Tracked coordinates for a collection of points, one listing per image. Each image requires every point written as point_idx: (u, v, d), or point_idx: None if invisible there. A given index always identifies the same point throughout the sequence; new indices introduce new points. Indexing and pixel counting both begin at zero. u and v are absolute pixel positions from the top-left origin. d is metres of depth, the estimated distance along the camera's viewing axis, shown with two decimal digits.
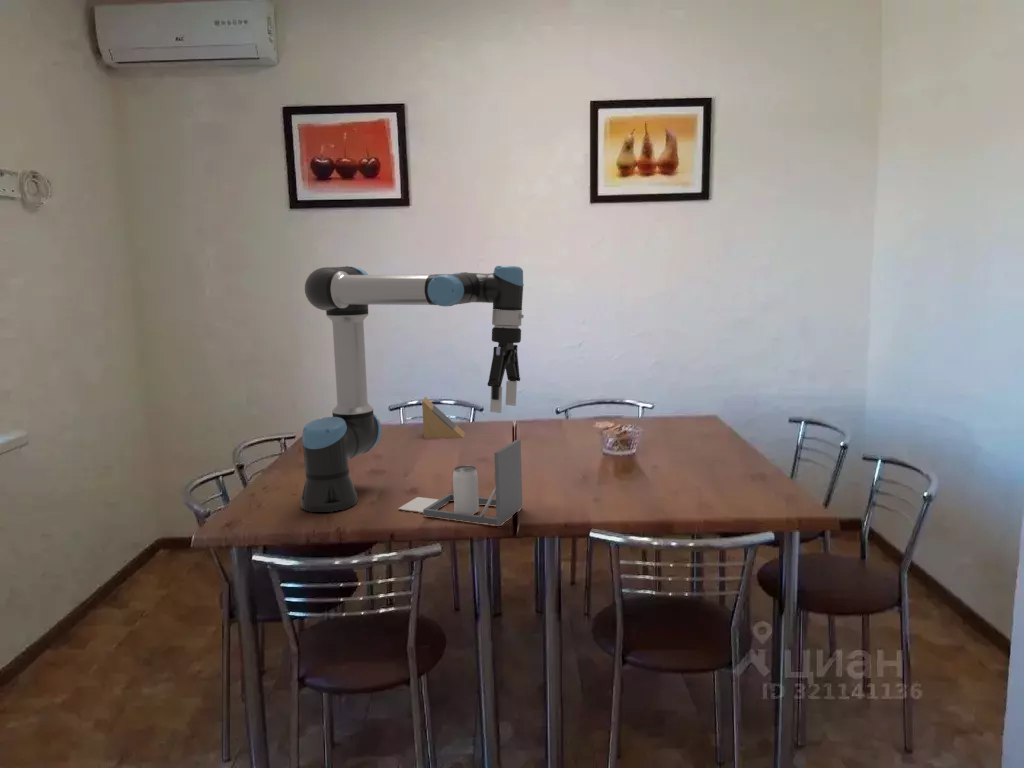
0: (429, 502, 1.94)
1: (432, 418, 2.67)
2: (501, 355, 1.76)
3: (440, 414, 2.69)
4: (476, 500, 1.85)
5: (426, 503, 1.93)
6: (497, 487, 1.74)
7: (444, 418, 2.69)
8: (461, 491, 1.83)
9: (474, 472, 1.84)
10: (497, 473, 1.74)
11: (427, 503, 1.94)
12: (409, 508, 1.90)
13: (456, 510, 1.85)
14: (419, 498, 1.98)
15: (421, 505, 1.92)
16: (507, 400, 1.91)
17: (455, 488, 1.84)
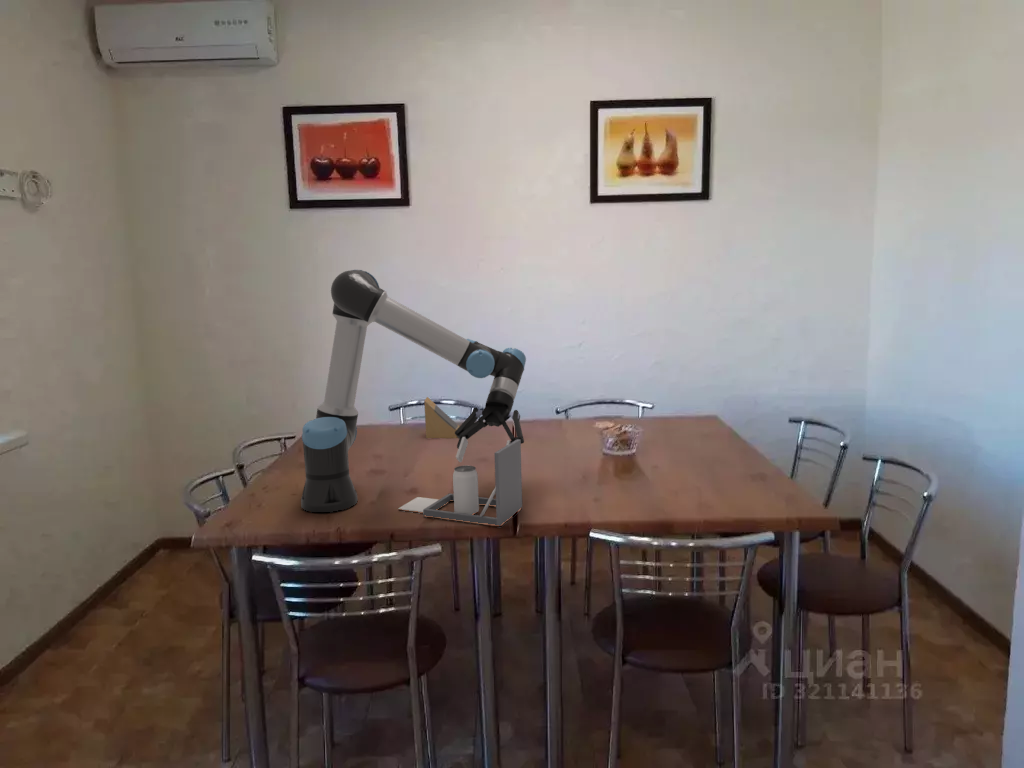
0: (429, 502, 1.94)
1: (434, 418, 2.67)
2: (519, 420, 1.97)
3: (442, 414, 2.69)
4: (476, 500, 1.85)
5: (426, 503, 1.93)
6: (497, 487, 1.74)
7: (446, 418, 2.69)
8: (461, 491, 1.83)
9: (474, 472, 1.84)
10: (497, 473, 1.74)
11: (427, 503, 1.94)
12: (409, 508, 1.90)
13: (456, 510, 1.85)
14: (419, 498, 1.98)
15: (421, 505, 1.92)
16: (460, 454, 1.95)
17: (455, 488, 1.84)
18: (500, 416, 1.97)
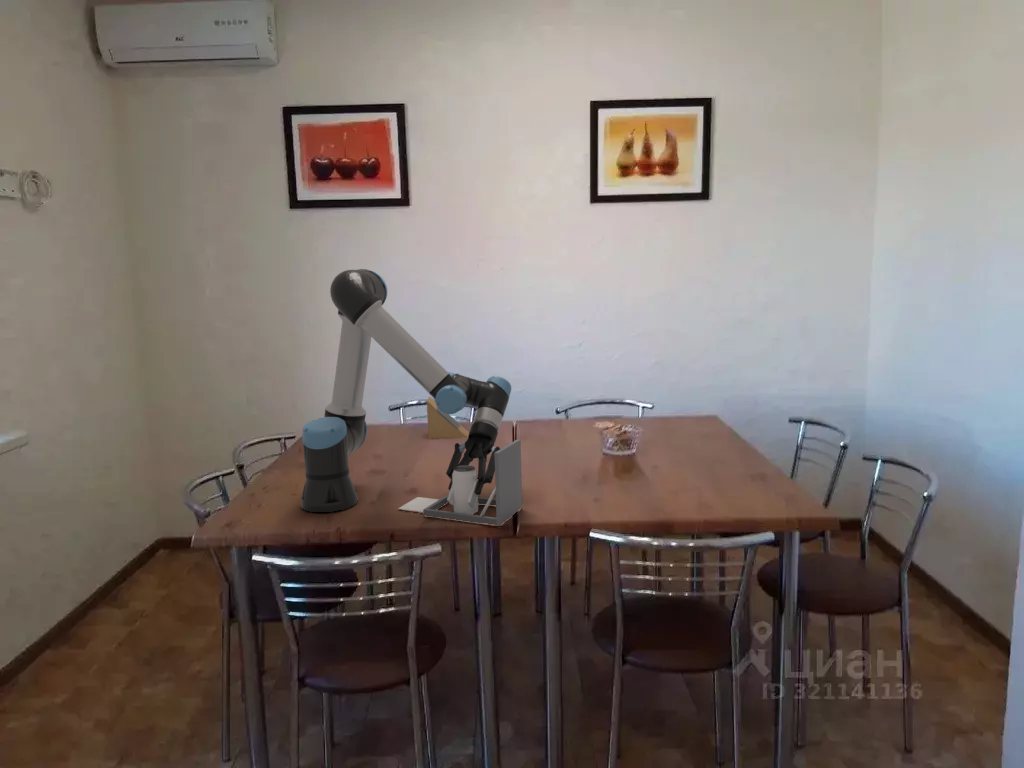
0: (429, 502, 1.94)
1: (437, 418, 2.67)
2: None
3: (444, 414, 2.69)
4: None
5: (426, 503, 1.93)
6: (497, 487, 1.74)
7: (448, 418, 2.69)
8: (461, 491, 1.83)
9: (473, 472, 1.84)
10: (497, 473, 1.74)
11: (427, 503, 1.94)
12: (409, 508, 1.90)
13: (455, 510, 1.85)
14: (419, 498, 1.98)
15: (421, 505, 1.92)
16: (451, 496, 1.85)
17: (454, 488, 1.84)
18: (480, 450, 1.89)
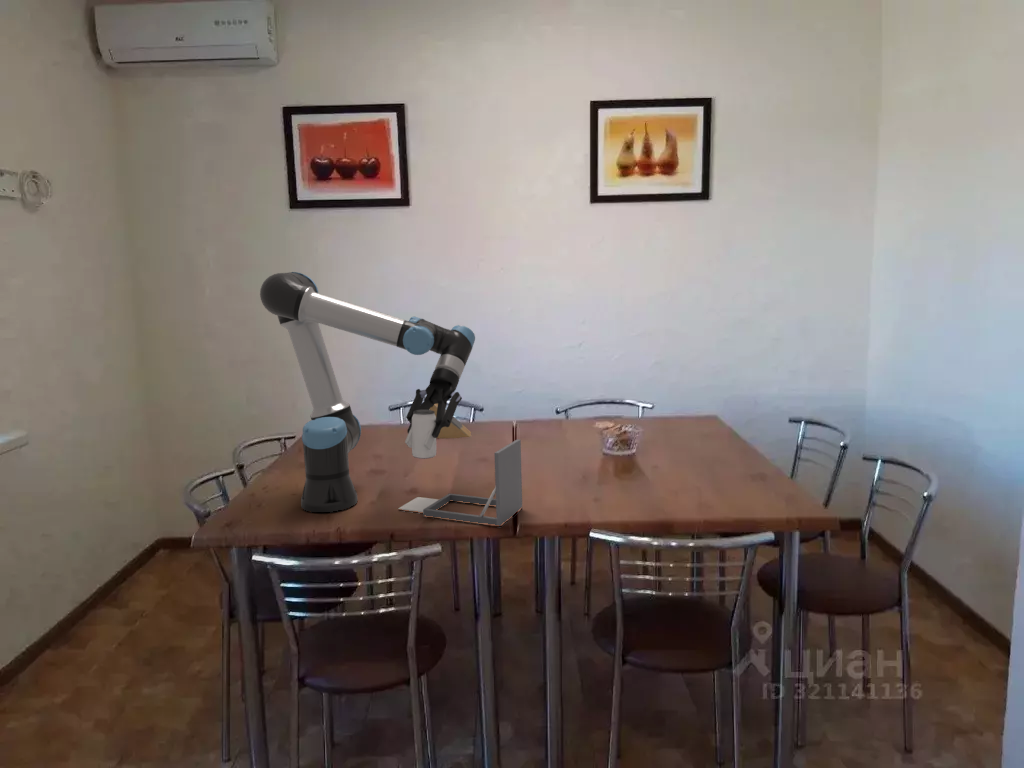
0: (429, 502, 1.94)
1: None
2: (457, 403, 1.92)
3: None
4: (434, 443, 1.88)
5: (426, 503, 1.93)
6: (497, 487, 1.74)
7: None
8: (419, 433, 1.86)
9: (433, 416, 1.87)
10: (497, 473, 1.74)
11: (427, 503, 1.94)
12: (409, 508, 1.90)
13: (413, 453, 1.88)
14: (419, 498, 1.98)
15: (421, 505, 1.92)
16: (409, 439, 1.87)
17: (413, 431, 1.87)
18: (440, 395, 1.92)
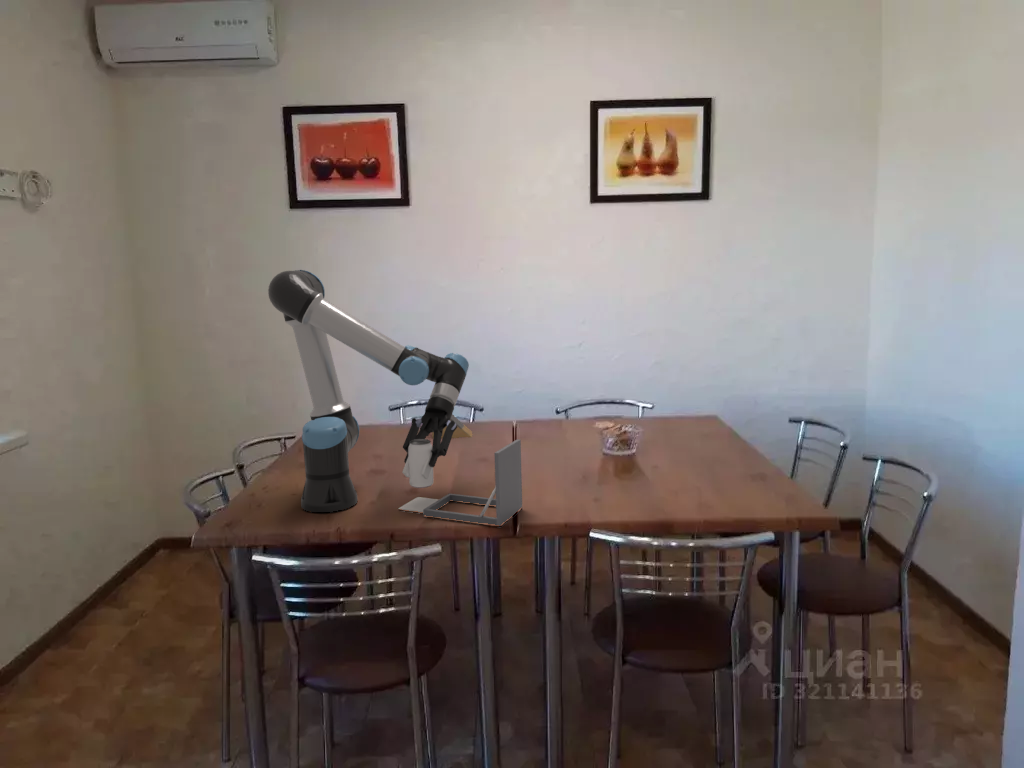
0: (429, 502, 1.94)
1: None
2: (453, 431, 1.94)
3: None
4: (431, 472, 1.90)
5: (426, 503, 1.93)
6: (497, 487, 1.74)
7: (452, 418, 2.69)
8: (416, 463, 1.88)
9: (429, 445, 1.89)
10: (497, 473, 1.74)
11: (427, 503, 1.94)
12: (409, 508, 1.90)
13: (411, 482, 1.90)
14: (419, 498, 1.98)
15: (421, 505, 1.92)
16: (407, 469, 1.89)
17: (410, 460, 1.89)
18: (436, 424, 1.94)
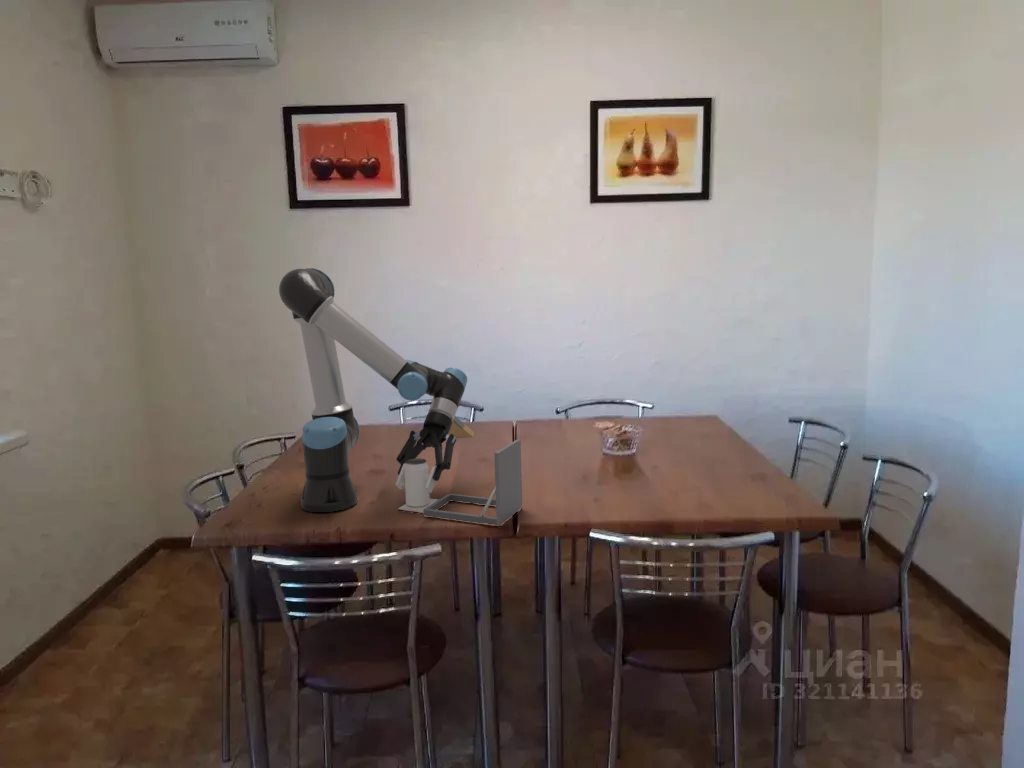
0: (429, 502, 1.94)
1: None
2: (453, 444, 1.95)
3: None
4: (427, 492, 1.91)
5: None
6: (497, 487, 1.74)
7: None
8: (412, 483, 1.89)
9: (425, 464, 1.90)
10: (497, 473, 1.74)
11: None
12: (409, 508, 1.90)
13: (407, 502, 1.91)
14: None
15: None
16: (400, 481, 1.91)
17: (406, 480, 1.90)
18: (435, 438, 1.95)
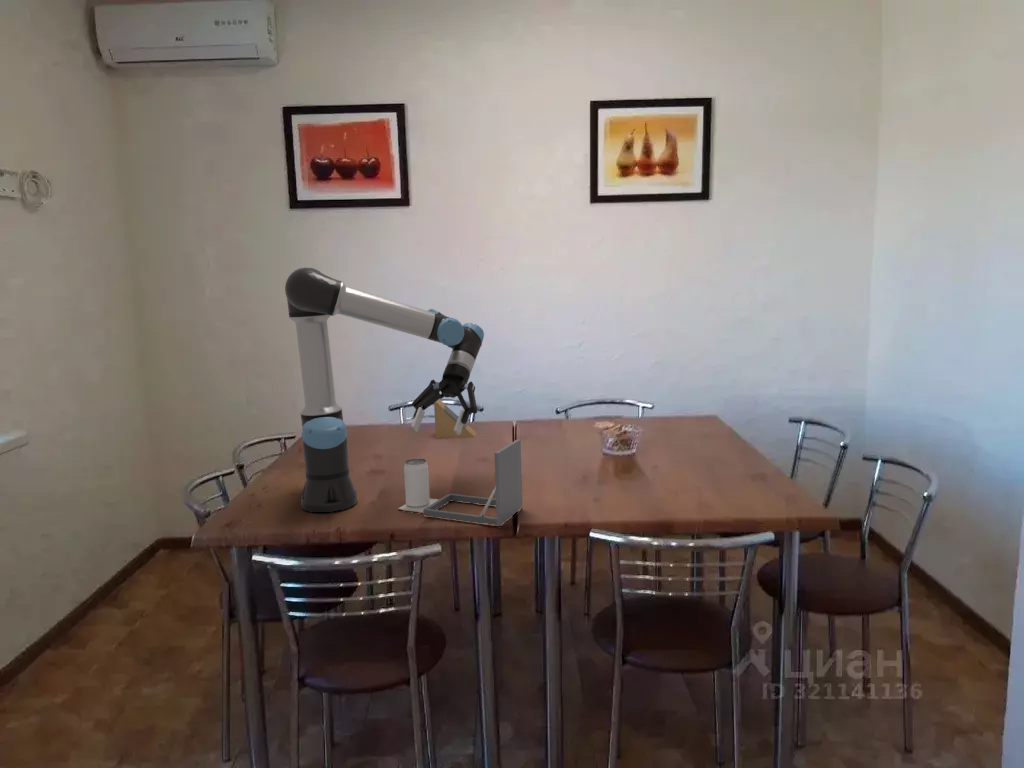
0: (429, 502, 1.94)
1: (444, 418, 2.67)
2: (473, 391, 2.04)
3: (451, 413, 2.69)
4: (427, 492, 1.91)
5: None
6: (497, 487, 1.74)
7: (456, 417, 2.69)
8: (412, 483, 1.89)
9: (424, 464, 1.90)
10: (497, 473, 1.74)
11: None
12: (409, 508, 1.90)
13: (407, 502, 1.91)
14: None
15: None
16: (415, 423, 2.01)
17: (406, 480, 1.90)
18: (455, 387, 2.03)
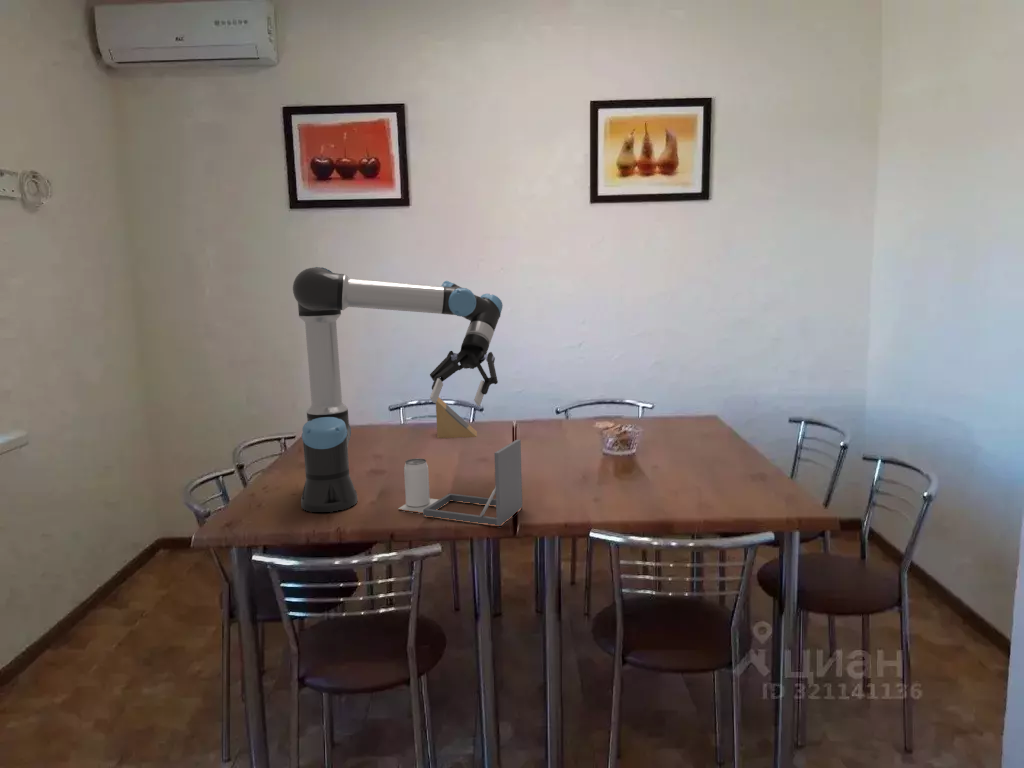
0: (429, 502, 1.94)
1: (446, 418, 2.67)
2: (493, 362, 1.99)
3: (453, 413, 2.70)
4: (427, 492, 1.91)
5: None
6: (497, 487, 1.74)
7: (457, 417, 2.69)
8: (412, 483, 1.89)
9: (424, 464, 1.90)
10: (497, 473, 1.74)
11: None
12: (409, 508, 1.90)
13: (407, 502, 1.91)
14: None
15: None
16: (434, 394, 1.96)
17: (406, 480, 1.90)
18: (475, 358, 1.98)
